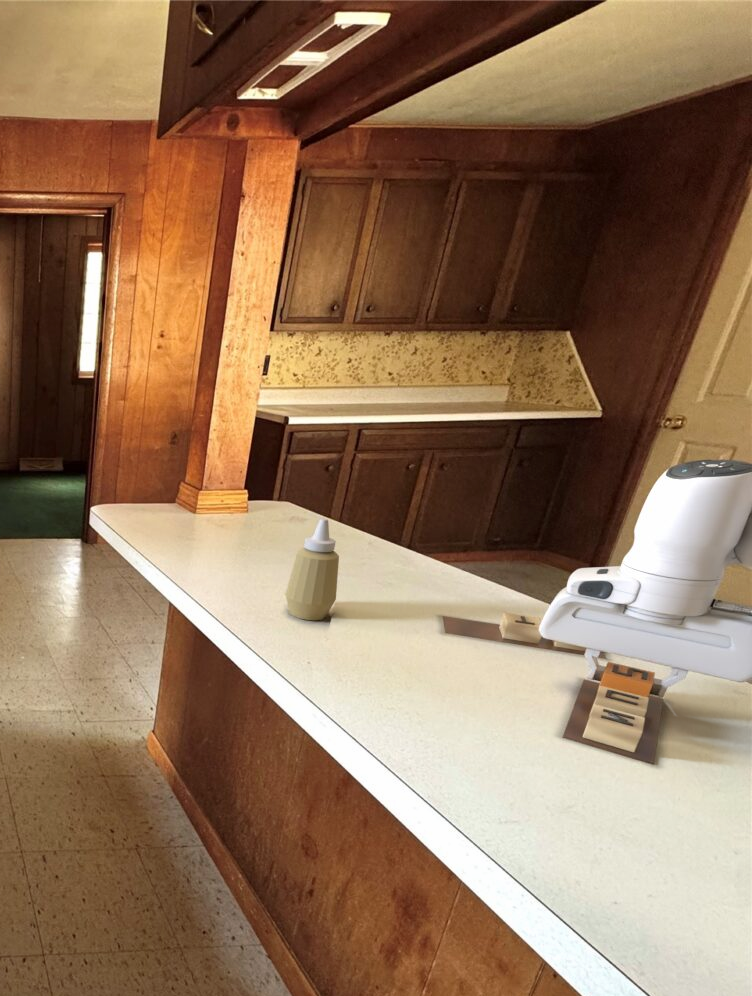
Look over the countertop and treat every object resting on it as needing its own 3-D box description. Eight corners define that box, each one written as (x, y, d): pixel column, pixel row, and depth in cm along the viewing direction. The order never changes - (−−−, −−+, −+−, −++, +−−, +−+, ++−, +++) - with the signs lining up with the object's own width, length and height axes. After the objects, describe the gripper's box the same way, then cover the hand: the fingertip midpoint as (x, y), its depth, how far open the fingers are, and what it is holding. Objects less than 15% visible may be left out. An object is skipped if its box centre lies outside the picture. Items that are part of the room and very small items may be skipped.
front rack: (581, 685, 94) (590, 660, 93) (660, 705, 89) (671, 679, 88) (560, 742, 82) (570, 715, 81) (650, 770, 77) (663, 741, 75)
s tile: (601, 679, 92) (608, 660, 91) (647, 690, 89) (655, 671, 87) (597, 691, 89) (604, 671, 88) (645, 703, 86) (653, 683, 85)
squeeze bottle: (275, 606, 124) (290, 513, 117) (319, 606, 124) (336, 512, 117) (294, 624, 117) (311, 526, 110) (340, 623, 116) (360, 525, 110)
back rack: (592, 644, 106) (600, 621, 104) (604, 664, 100) (613, 641, 98) (441, 620, 116) (446, 600, 114) (443, 638, 110) (449, 616, 108)
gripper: (788, 604, 78) (739, 705, 83) (561, 566, 92) (531, 655, 97) (791, 620, 74) (740, 725, 79) (554, 578, 88) (523, 669, 93)
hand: (623, 686), depth 89 cm, fingers closed on s tile, 4 cm apart
